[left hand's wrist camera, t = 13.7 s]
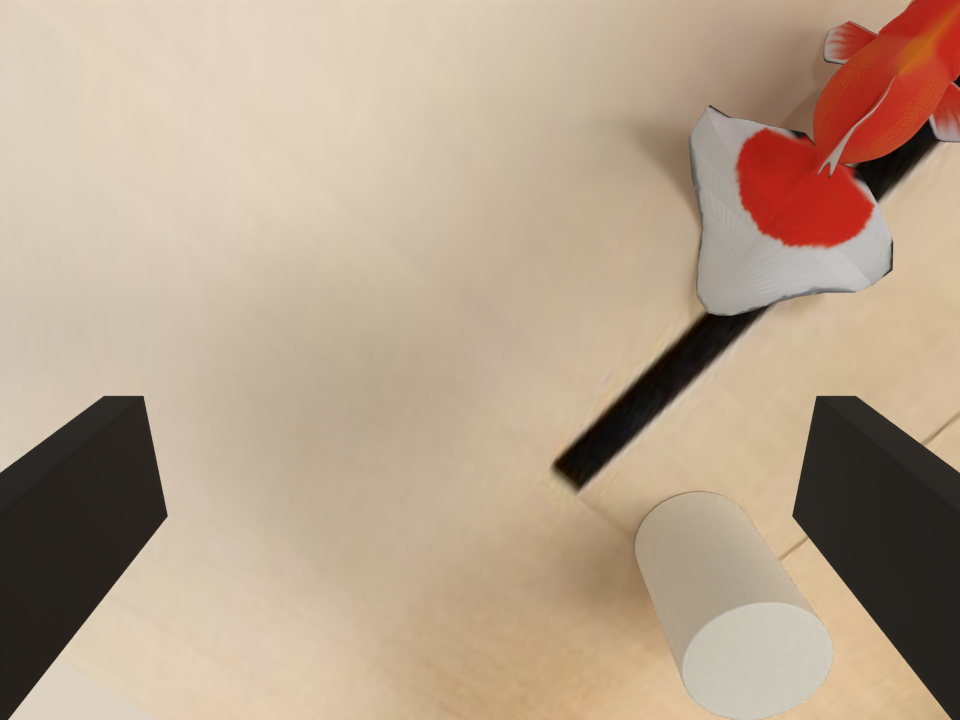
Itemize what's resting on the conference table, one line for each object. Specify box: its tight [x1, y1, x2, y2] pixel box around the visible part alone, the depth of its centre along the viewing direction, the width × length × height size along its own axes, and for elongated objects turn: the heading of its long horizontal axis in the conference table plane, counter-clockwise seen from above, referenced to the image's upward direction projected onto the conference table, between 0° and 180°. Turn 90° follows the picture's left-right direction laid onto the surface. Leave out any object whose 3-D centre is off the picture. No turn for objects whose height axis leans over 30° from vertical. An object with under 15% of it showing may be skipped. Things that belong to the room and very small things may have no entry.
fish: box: [689, 0, 960, 315], centre depth 28 cm, size 11×16×10 cm
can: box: [635, 492, 833, 720], centre depth 35 cm, size 7×7×10 cm
